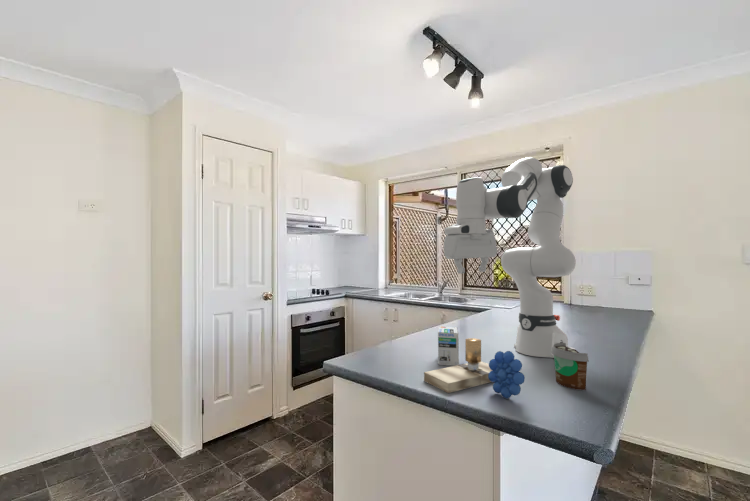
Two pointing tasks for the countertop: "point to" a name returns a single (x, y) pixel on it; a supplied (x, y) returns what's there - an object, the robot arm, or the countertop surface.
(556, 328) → the robot arm
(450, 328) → the light bulb box
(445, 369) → the wooden block with hole
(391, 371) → the countertop surface
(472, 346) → the gold rounded piece
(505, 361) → the grapes
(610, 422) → the countertop surface
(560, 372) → the food container
